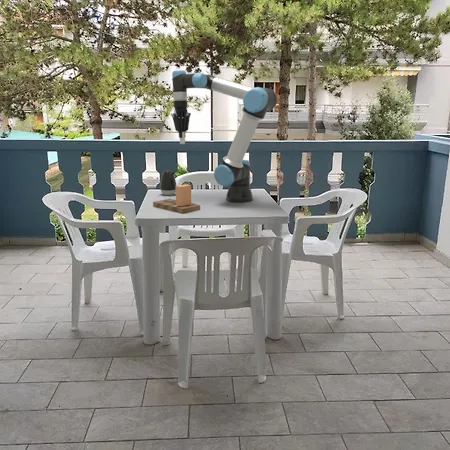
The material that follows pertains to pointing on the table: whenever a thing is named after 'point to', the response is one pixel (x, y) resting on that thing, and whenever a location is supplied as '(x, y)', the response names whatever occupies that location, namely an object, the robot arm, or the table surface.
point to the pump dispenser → (168, 183)
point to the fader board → (175, 206)
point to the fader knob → (183, 195)
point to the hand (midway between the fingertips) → (182, 143)
